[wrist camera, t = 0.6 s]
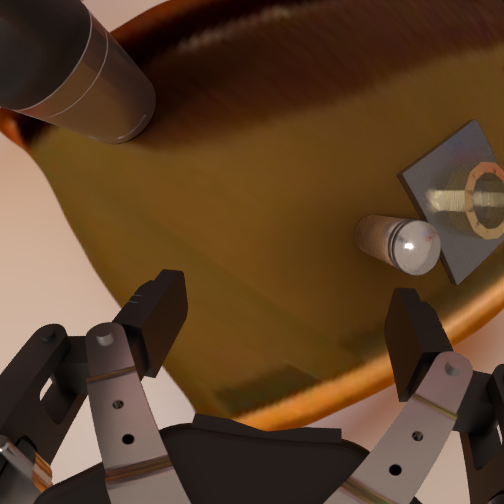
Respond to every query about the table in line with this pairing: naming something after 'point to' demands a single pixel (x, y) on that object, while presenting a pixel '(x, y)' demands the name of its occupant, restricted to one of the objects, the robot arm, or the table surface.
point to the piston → (399, 242)
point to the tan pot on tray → (460, 198)
